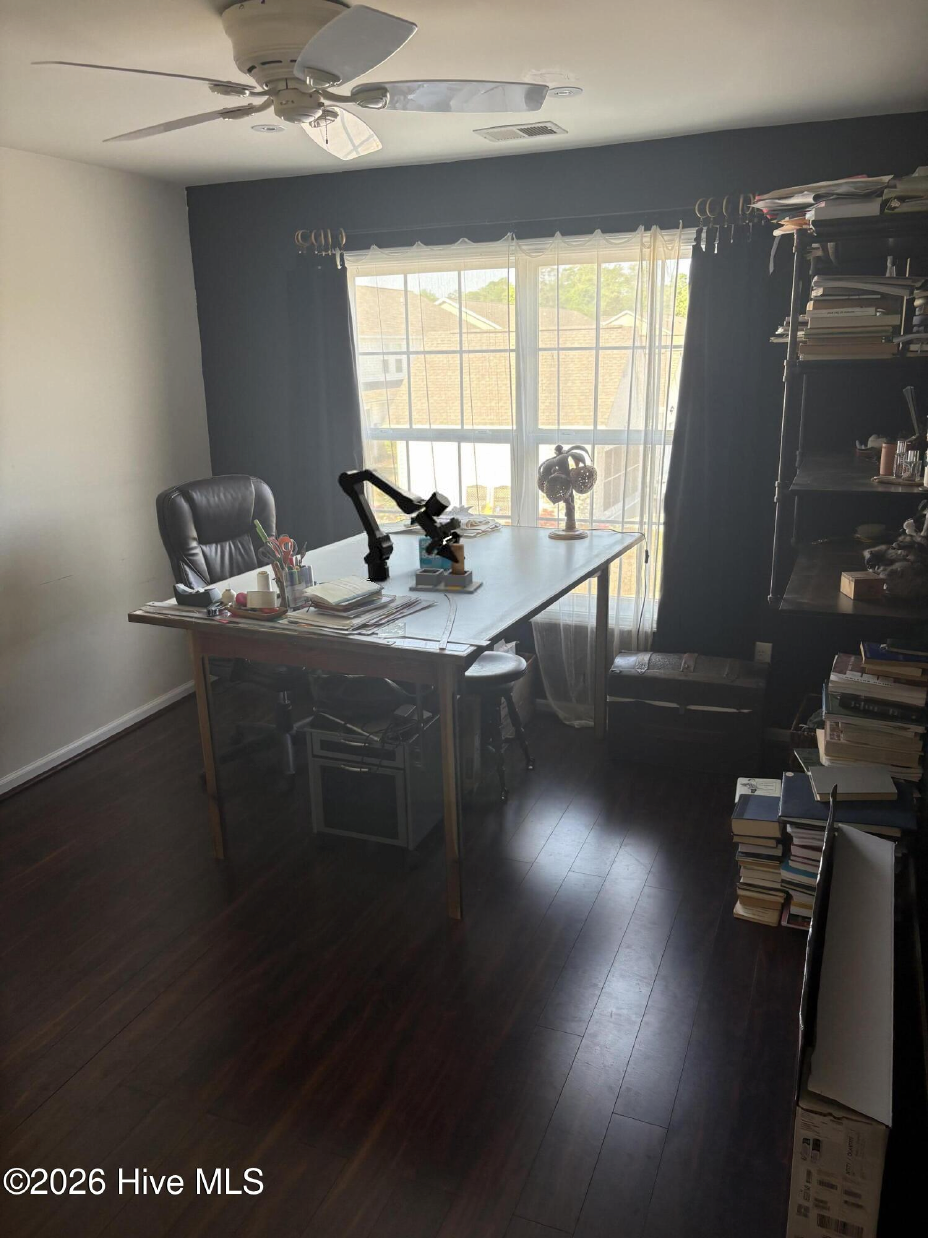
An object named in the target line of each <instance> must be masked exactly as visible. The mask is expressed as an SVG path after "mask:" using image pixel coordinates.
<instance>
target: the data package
mask: <svg viewBox="0 0 928 1238" xmlns="http://www.w3.org/2000/svg"><path fill="white" fill-rule="evenodd" d="M431 541H432V540H431V539H430V538H429V537H425V536H424V535H421V536H419V538H418V556H419V557H418V558H419V559H418V560H419V568H420V570H421V569H423V568H428V569H449V570H451V561H450V560H448V559H445V558H443V557H440V556H438V555H435V554H436V552H437V551H436V550H437V549H435V550H434V551H433V554H432V555H430V556H428V554H427V553H426V552H425V548H426V547H427V545H428V544H429V543H430V542H431Z"/></svg>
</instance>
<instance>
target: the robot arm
mask: <svg viewBox="0 0 928 1238" xmlns="http://www.w3.org/2000/svg"><path fill="white" fill-rule="evenodd" d="M365 482H368V483H370V484H371V485H373V486H374V487H375V488H377V489H378V490H379V491H381V492H382V493H384V494H385V496H388V497H389V498H390V499H392V500H393V501H394V502H395V504H396V506H397V508H399V509H400V511H401V512H402V513H404V514H405V515H413V514H415V513H416V514H415V515H413V516H411V517H410V523H409V524H410V526H414V525H418V526H419V527H420V529H421V530H422V531H423V532H424V535H423V536H425V537H429V538H430V539H431V540H432V541H431V542H430V543H429V544H428V545H427V547H426V548H425V552H426V553H427V554H428V556H430V555H432V554H433V551H434V550H435V549H437V550H436V551H437V552H436V554H435V555H438V556H440V557H443V558H445V559H448V560H450V561H452V562H454V563H456V564H457V563H459V560H458V558H457V557H456V556H455V554H454V553H453V551H452V550H451V544H461V542H460V541H461V538H462V537H463V536H464V535H465V532H463V530H462V529H460V528H462V526H461V523H462V520H460V518H458V517H457V516H456V515H455V516H453V517H450V519H449V521H447V522H446V523H444V521H439V520H437V519H436V518H440V517H441V516H442V515H443V513H445V512H446V511H447V510H448V508H450V506H451V504H452V503H451V500H450V499H449V498H448V497H447V496H445V495H444V494H443V493H440V492H439V491H438V490H436V491H433V492H432V493H431V495H430V496H429V498H428V499H426V498H422V497H421V496H420V495H418V494H416V493H414V492H412V491H409V490H406V489H403V488H401V487H400V486H399V485H397V484H396V483H395V482H393V481H392V480H390V479H389V478H388V477H387V476H385V475H383V473H381V472H379V470H378V469H377V468H375V467H370V468H369V467H368V468H365V469H364V470H361V471H359V470H356V469H353V470H348V471H345V472H341V473H340V474H339V476H338V478H337V483H338V486H339V487H340V488H341V490H342V491H343V493H344V494H345V495H346V496H347V497H349V498H350V501H352V505H353V506H354V508H355V511H356V513H357V516H358V519H359V520H360V522H361V524H362V527H363V529H364V531H365V533H366V535H367V547H368V552H367V554H366V555H365V556H364V557H363V561H364V563H365V565H367V576H368V577H367V578H366V579H370V580H374V581H373V582H385V581H386V580H388V579H389V578H390V577H391V576H390V566H389V565H388V561H389V560H390V558H391V556H392V554H393V552H394V546H393V545H394V542H393V541H392V539H391V536H390V534H389V533H384V532H383V531H381V528H380V526H379V523H378V522H377V519H376V517H375V515H374V513H373V511H372V508H371V506H370V504H369V501H368V499H367V496H366V495H365ZM465 560H466V557H465V555H464V561H465Z"/></svg>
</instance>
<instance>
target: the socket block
mask: <svg viewBox="0 0 928 1238" xmlns="http://www.w3.org/2000/svg"><path fill="white" fill-rule="evenodd" d="M414 575H415V579H414V580H415V582H414V583H413V584H412V585H410V586H408V589H409V590H408V591H415V590H420V591H419V592H435V593H436V592H438V593H453V594H454V593H455V594H458V593H459V594H472V595H473V594H474V593H475V592H476V591H477V590H478V589H480V587H481V585H482V586H483V585H484V582H483V581H480V580H479V581H475V580H473V578H474V577H473V570H471V569H465V575H451V569H449V570H448V571H447V572H445V570H444V569H428V568H423V569H421V568H420V569H419V570H418V571H416V572H415V573H414Z"/></svg>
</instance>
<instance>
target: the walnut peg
mask: <svg viewBox="0 0 928 1238" xmlns="http://www.w3.org/2000/svg"><path fill="white" fill-rule="evenodd" d="M451 550H452V551H453V553H454V554H455V556H456V557H457V558H458V560H459V563H457V564H456V563H454V562H452V561H451V569H450V570H451V575H465V570H466V569H465V567H466V565H465V560H464V556H465V544H464V543H460V544H451Z"/></svg>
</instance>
